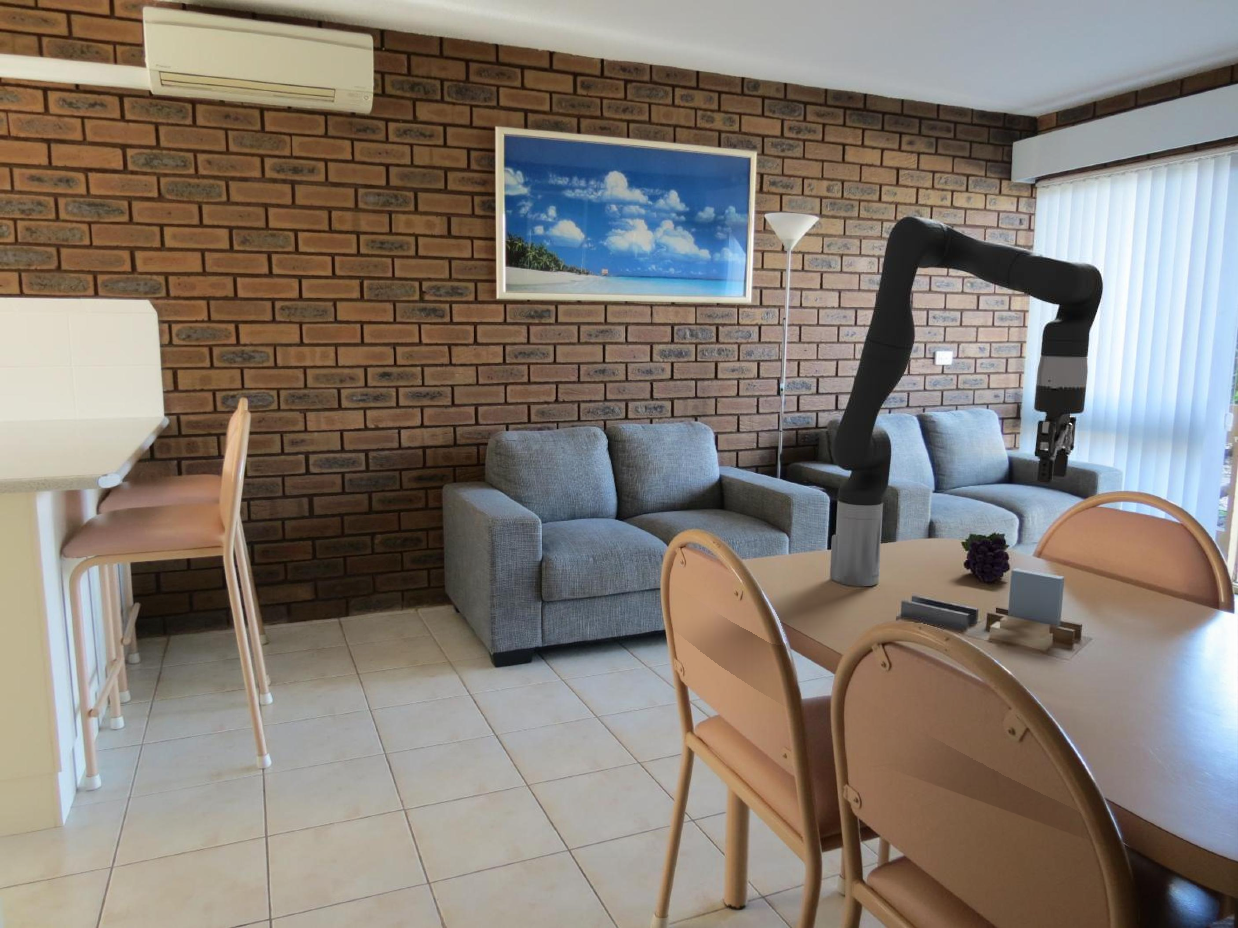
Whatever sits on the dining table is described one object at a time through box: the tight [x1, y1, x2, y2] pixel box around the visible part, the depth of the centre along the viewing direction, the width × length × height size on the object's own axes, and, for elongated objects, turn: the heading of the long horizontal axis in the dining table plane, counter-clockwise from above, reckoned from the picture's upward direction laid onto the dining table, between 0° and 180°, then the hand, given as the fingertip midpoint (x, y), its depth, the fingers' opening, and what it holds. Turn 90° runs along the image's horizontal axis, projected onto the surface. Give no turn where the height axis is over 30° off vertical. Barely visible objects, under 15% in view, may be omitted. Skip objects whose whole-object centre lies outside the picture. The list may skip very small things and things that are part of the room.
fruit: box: [960, 532, 1011, 583], centre depth 189 cm, size 10×11×15 cm
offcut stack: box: [989, 615, 1053, 651], centre depth 147 cm, size 9×4×4 cm, turn 48°
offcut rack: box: [961, 605, 1094, 661], centre depth 149 cm, size 17×14×4 cm
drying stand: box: [895, 594, 981, 633], centre depth 159 cm, size 12×9×4 cm
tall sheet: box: [1008, 567, 1065, 627], centre depth 151 cm, size 8×2×10 cm, turn 48°
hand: (1051, 479), depth 149 cm, fingers open, 8 cm apart
